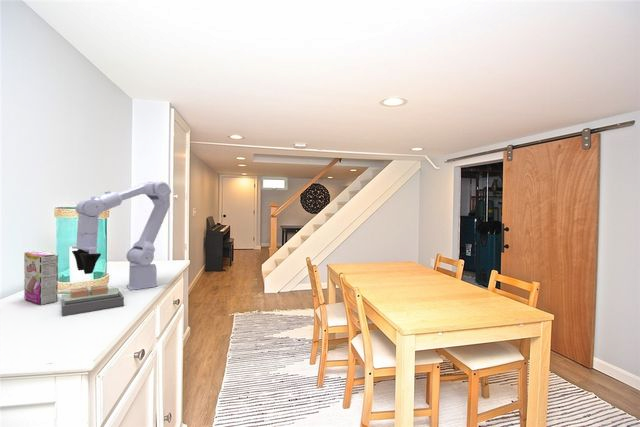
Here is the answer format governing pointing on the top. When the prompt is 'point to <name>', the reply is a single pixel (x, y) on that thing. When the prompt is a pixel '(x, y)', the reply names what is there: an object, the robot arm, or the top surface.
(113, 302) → the tray
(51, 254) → the candy bar box
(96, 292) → the tile
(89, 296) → the board
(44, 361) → the top surface
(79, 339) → the top surface
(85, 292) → the tile
